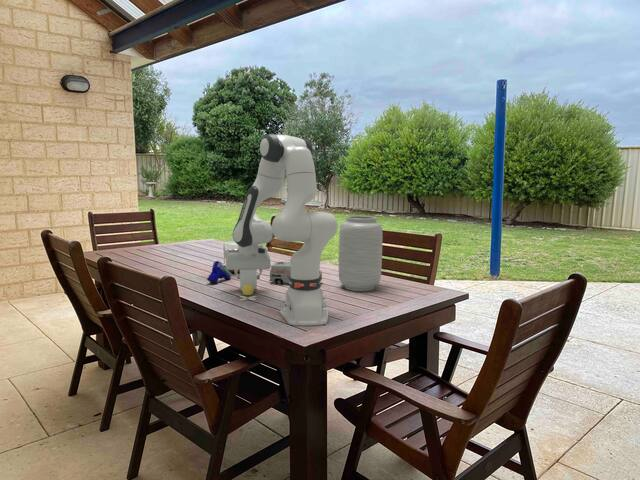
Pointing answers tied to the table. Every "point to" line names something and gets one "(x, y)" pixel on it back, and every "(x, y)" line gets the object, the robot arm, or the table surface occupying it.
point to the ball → (247, 289)
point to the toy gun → (219, 273)
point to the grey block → (248, 277)
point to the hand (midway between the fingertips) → (248, 279)
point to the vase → (360, 253)
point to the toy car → (282, 273)
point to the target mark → (247, 298)
